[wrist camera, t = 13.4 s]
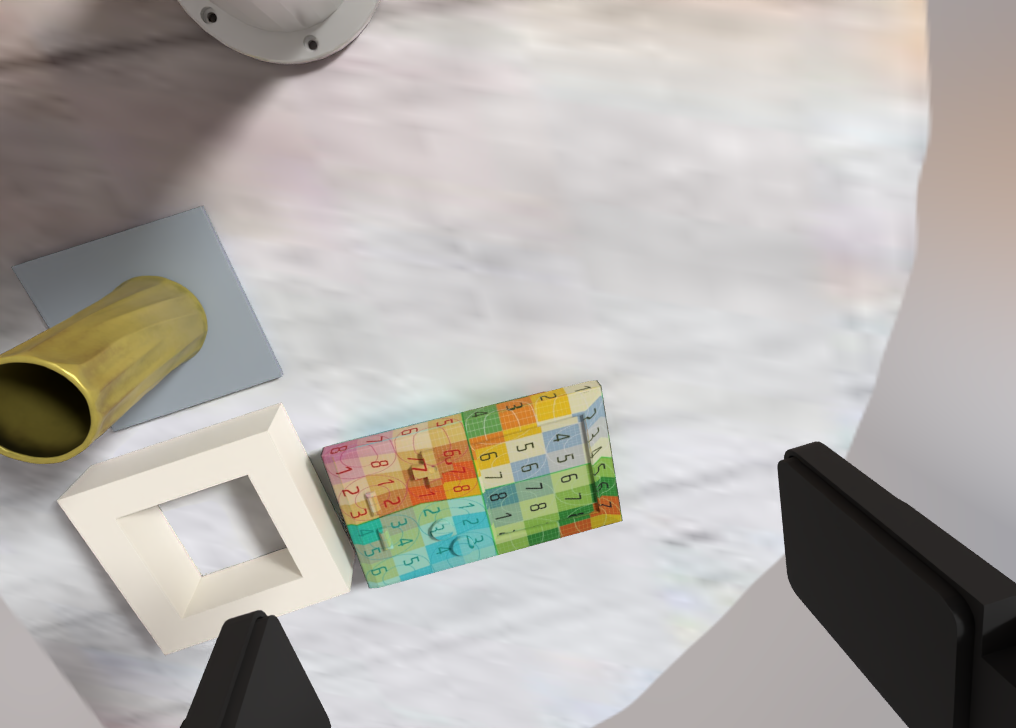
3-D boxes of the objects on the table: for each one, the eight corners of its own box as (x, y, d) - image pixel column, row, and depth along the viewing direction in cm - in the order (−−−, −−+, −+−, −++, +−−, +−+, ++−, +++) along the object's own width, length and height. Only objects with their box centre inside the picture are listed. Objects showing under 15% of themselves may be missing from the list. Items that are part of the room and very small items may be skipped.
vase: (212, 365, 41) (117, 473, 28) (114, 364, 40) (-34, 475, 27) (204, 276, 39) (96, 347, 26) (99, 272, 38) (-69, 343, 25)
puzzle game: (318, 462, 40) (605, 390, 42) (327, 431, 45) (586, 367, 46) (368, 597, 45) (626, 528, 46) (372, 556, 49) (608, 494, 50)
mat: (17, 264, 38) (11, 266, 37) (203, 205, 38) (199, 206, 37) (117, 427, 42) (113, 431, 42) (283, 373, 42) (281, 376, 42)
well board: (91, 465, 43) (56, 500, 39) (281, 402, 43) (267, 430, 39) (186, 610, 48) (165, 655, 44) (355, 552, 48) (350, 591, 44)
